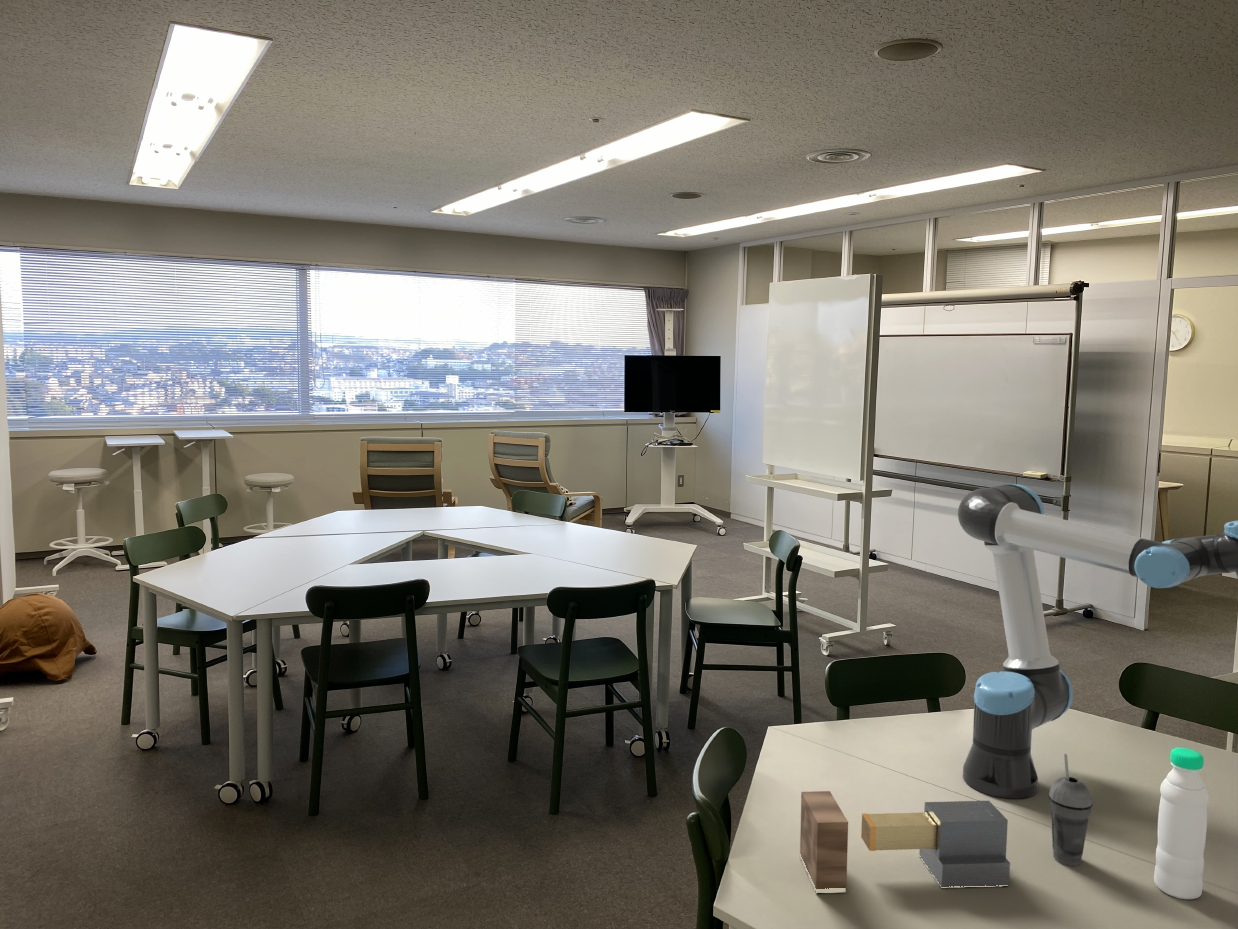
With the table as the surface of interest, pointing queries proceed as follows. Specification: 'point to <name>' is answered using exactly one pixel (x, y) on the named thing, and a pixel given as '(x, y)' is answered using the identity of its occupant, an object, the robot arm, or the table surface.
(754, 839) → the table surface
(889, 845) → the rail
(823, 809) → the socket block
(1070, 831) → the beverage cup
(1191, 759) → the water bottle
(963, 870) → the sleeve
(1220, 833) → the table surface
